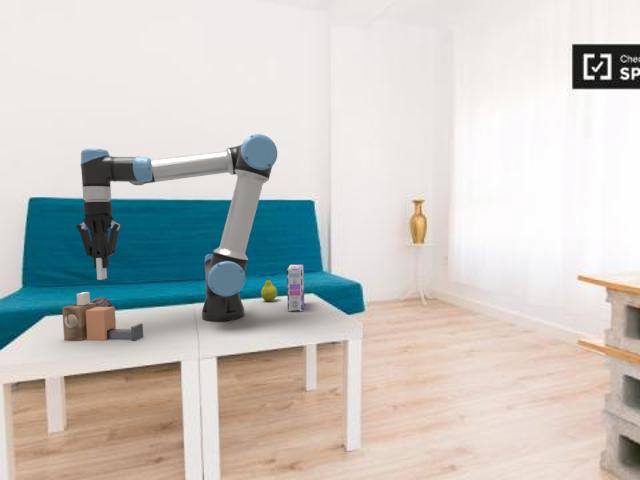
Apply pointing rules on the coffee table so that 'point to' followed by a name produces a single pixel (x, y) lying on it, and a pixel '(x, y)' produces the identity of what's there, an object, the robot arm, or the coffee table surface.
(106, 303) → the rock
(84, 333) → the cabinet
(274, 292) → the fruit
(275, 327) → the coffee table surface
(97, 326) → the block
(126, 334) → the rail
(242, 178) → the robot arm
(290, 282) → the candy box
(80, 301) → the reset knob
